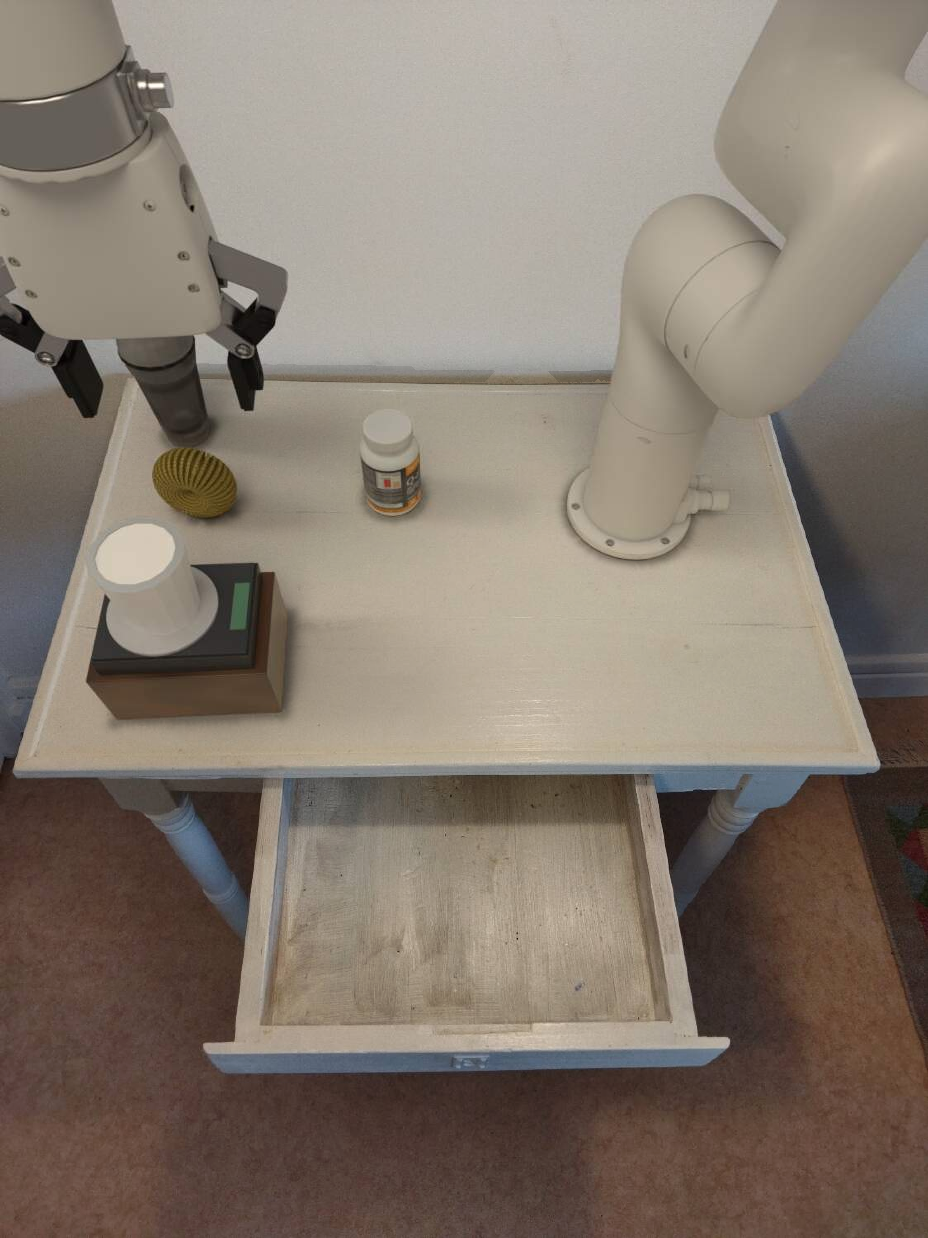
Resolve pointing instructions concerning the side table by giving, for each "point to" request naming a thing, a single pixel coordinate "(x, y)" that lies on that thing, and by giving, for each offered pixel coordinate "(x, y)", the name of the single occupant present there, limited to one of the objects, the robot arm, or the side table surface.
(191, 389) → the beverage cup
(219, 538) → the side table surface
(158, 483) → the sculpture
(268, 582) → the walnut riser
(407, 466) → the pill bottle
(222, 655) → the kitchen scale
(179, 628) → the white cup
